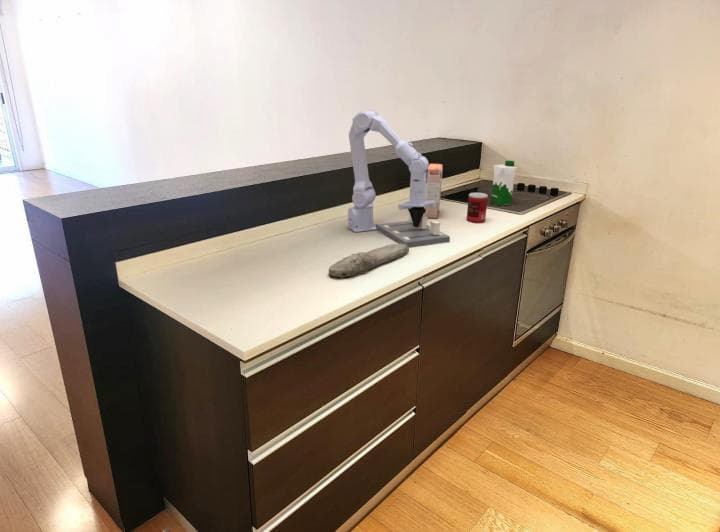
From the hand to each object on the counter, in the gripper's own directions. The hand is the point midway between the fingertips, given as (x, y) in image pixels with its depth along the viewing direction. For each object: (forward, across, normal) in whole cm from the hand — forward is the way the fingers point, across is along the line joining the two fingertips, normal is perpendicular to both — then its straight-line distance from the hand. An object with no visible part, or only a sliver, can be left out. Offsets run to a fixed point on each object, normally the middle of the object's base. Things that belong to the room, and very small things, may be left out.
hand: (415, 226), depth 185 cm
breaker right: (+1, +3, -8) cm, 9 cm away
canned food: (+3, +33, +8) cm, 34 cm away
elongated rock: (+4, -28, -21) cm, 35 cm away
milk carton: (+3, +61, +27) cm, 67 cm away
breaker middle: (+1, +3, 0) cm, 3 cm away
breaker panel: (+3, -2, 0) cm, 4 cm away
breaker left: (+1, +3, +8) cm, 9 cm away
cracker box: (+3, +21, +23) cm, 32 cm away
